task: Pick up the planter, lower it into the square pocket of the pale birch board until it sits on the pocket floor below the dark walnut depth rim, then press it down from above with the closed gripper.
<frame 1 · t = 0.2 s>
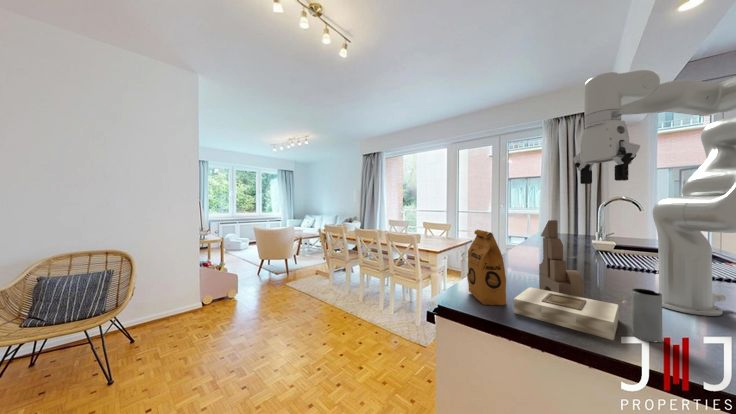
hand: (602, 182, 70), 36 cm above the counter, tool pointing down, fingers open, 9 cm apart
wooden toy: (558, 297, 82), on the counter
coffee package: (486, 299, 81), on the counter
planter: (647, 338, 56), on the counter
peg board: (564, 316, 68), on the counter
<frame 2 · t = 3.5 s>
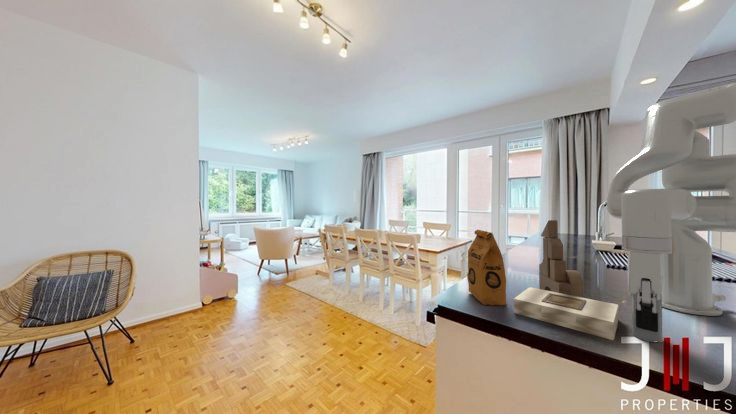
hand: (646, 324, 56), 3 cm above the counter, tool pointing down, fingers closed on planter, 4 cm apart
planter: (647, 338, 56), on the counter, touching gripper
everything else where it was.
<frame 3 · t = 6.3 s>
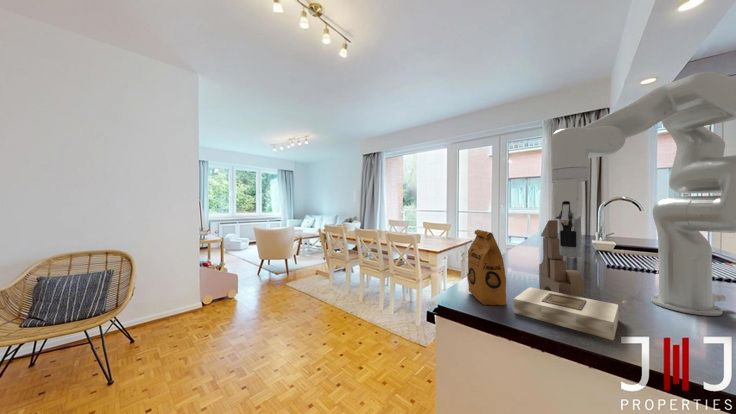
hand: (570, 244, 66), 19 cm above the counter, tool pointing down, fingers closed on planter, 4 cm apart
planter: (570, 256, 66), point 16 cm above the counter, touching gripper
everything else where it was.
when the fingers open (6 cm above the counter, at t = 9.4 s): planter drops 2 cm, resting on peg board.
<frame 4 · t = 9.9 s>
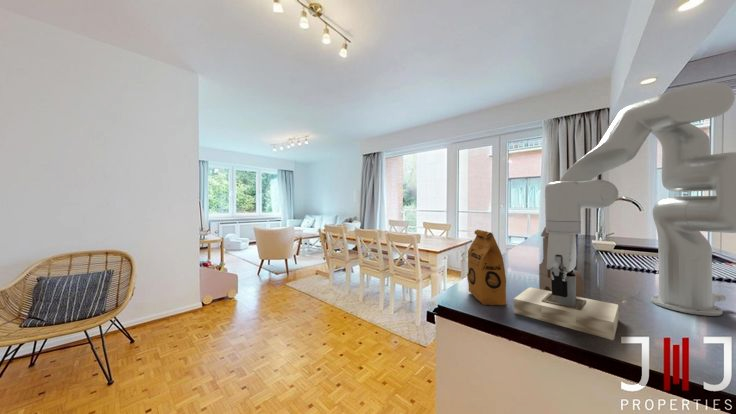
hand: (563, 291, 67), 7 cm above the counter, tool pointing down, fingers open, 9 cm apart
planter: (565, 313, 68), point 1 cm above the counter, touching peg board
everything else where it was.
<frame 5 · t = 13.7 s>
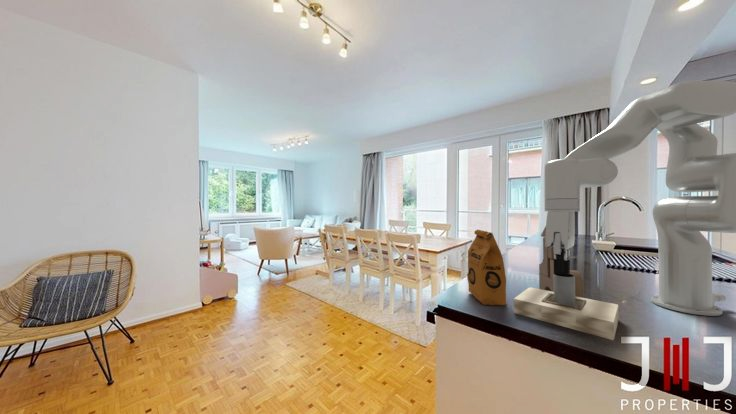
hand: (561, 274, 67), 11 cm above the counter, tool pointing down, fingers closed
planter: (565, 313, 68), point 1 cm above the counter, touching gripper, peg board
everything else where it was.
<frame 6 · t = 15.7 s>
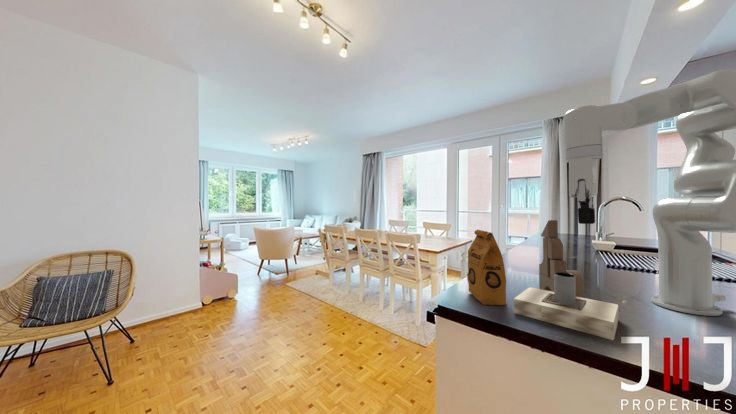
hand: (586, 223, 67), 25 cm above the counter, tool pointing down, fingers closed
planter: (565, 313, 68), point 1 cm above the counter, touching peg board
everything else where it was.
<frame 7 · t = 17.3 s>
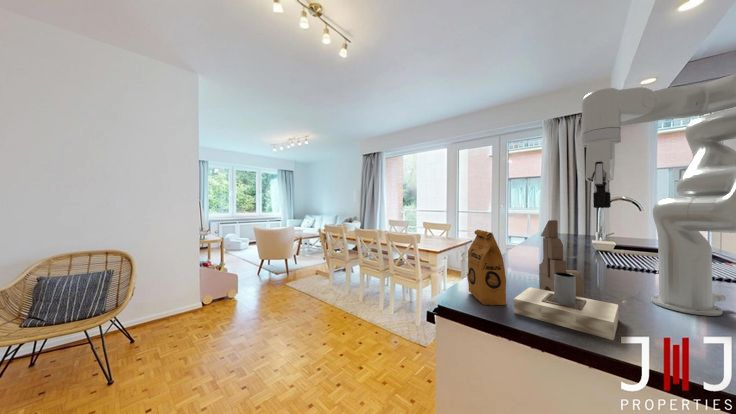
hand: (602, 207, 67), 29 cm above the counter, tool pointing down, fingers closed
nothing on the counter moved.
at the end: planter 0.3 cm from the peg board (horizontally); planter point 0.8 cm above the counter; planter tilted 0° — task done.
